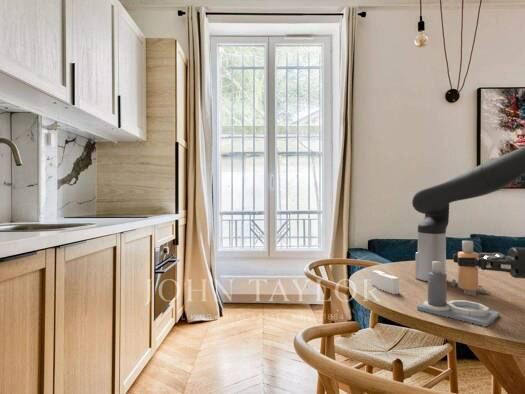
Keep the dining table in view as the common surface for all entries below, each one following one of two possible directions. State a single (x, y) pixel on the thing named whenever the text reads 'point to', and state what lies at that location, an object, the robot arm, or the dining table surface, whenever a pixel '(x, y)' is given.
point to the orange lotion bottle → (467, 268)
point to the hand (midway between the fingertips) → (456, 259)
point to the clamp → (469, 292)
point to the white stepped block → (385, 282)
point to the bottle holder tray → (453, 301)
